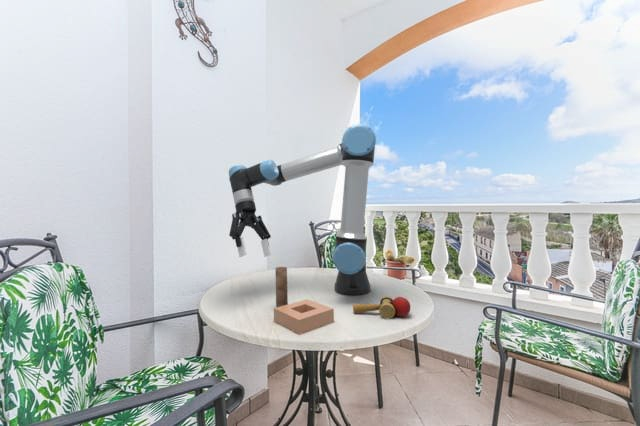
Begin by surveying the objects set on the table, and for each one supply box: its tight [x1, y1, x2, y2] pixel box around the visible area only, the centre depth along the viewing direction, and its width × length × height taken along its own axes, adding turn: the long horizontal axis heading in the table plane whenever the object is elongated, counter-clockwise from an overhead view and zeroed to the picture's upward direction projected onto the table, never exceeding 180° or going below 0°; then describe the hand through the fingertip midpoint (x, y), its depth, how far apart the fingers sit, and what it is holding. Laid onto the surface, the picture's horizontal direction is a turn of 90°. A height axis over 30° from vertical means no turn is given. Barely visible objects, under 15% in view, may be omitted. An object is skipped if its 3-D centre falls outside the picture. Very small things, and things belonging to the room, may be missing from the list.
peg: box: [275, 266, 289, 308], centre depth 101 cm, size 4×4×14 cm
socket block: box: [273, 299, 335, 335], centre depth 88 cm, size 13×13×4 cm
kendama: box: [352, 295, 411, 320], centre depth 93 cm, size 8×6×18 cm
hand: (255, 255), depth 107 cm, fingers open, 13 cm apart
